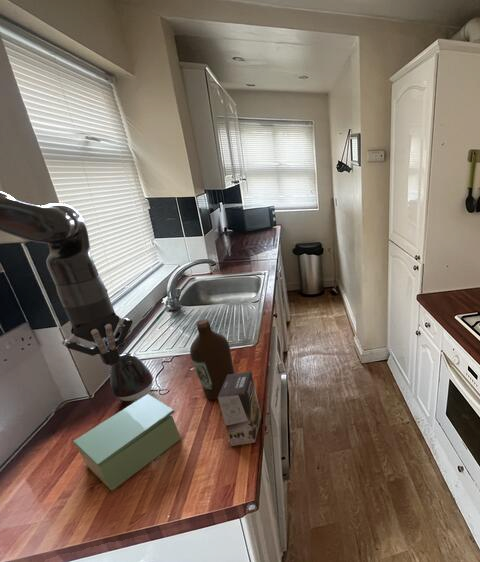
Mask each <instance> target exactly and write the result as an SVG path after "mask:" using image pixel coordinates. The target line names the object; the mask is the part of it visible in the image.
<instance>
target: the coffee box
mask: <svg viewBox="0 0 480 562" xmlns="http://www.w3.org/2000/svg"><path fill="white" fill-rule="evenodd" d="M234 373H235V372H234ZM217 400H218V403H219V407H220V411H221V415H222V418H223V422H224V426H225V429H226V434H227V436H228V440H229V443H230V446H231V447H235V446H242V445H247V444H254V443H255V444H256V442H257V437H258V433H259V428H260V424H261V420H262V413H261V408H260V404H259V403H260V402H259V400H258V395H257V391H256V385H255V382H254V378H253V373H252V371H251V370H248V371H241V372H236V373H235V374H228V375H227V377H226V379H225V381H224V384H223V386H222V388H221V391H220V393H219V396H218V399H217Z"/></svg>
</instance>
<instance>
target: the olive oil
mask: <svg viewBox="0 0 480 562" xmlns="http://www.w3.org/2000/svg"><path fill="white" fill-rule="evenodd" d="M195 324H196V329H197V332H198V334H197V336H196V337H195V338H194V340H193V342H192V343H191V345H190V349H189V355H190V359H191V361H192V365H193V367H194V370H195V372H196V374H197V377H198V380H199V382H200V385H201V387H202V391H203V393H204V397H205V398H206V399H208V400H215V401H216V400H218V396H219V393H220V391H221V388H222V386H223V384H224V381H225V379H226V377H227V375H228V374H235V368H234V363H233V357H232V352H231V346H230V343H229V341H228V339H227V338H226V337H225V336H224V335H223V334H221V333H219V332H216V331H214V330H212V326H211V323H210V320H209V319H208V318H203V319H199V320H198V321H196V323H195Z"/></svg>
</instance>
